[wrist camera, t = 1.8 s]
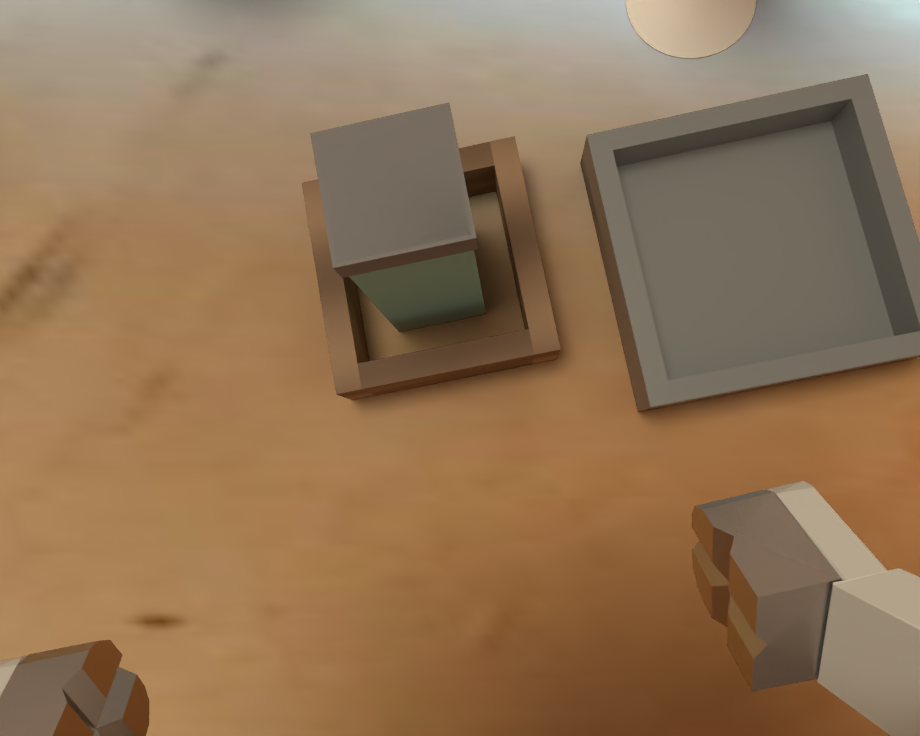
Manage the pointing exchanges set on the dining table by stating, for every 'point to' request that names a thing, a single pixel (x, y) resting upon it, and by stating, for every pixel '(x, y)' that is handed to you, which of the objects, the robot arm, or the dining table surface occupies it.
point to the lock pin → (401, 215)
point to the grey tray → (755, 243)
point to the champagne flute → (690, 24)
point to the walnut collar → (537, 343)
